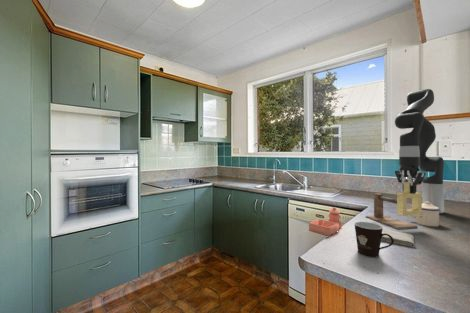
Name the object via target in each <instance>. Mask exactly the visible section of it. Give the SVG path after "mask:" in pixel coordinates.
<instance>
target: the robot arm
mask: <svg viewBox="0 0 470 313" xmlns="http://www.w3.org/2000/svg"><path fill="white" fill-rule="evenodd" d="M434 101H435V94H434V91H433V90H432V89H431V88H426V89H420V90H416V91H411V92H409V93H408V94H407V95H406V103H407V107H406V109H405V110H403V111H401V112H400V113H399V114H398V115H396V117H395V119H394V125H395V127H396V128H398V129H400V130H402V129H403V130H404V129H412V130H411V131H410V132H406V133H402V134H401V135H400V136H399V149H398V150H399V151H398V153H399V154H398V166H400V168H399V170H395V171H394V174H395V176H396V179H397V182H398V183H400V184H402V193H404V182H410V193H411V194H415V193H416V192H417V186H419V185H422V204H423V203H425V202H430V204H432V205H434V206H435V207H438V208H439V209H440V210H439V214H443V213H445V196H444V168H445V163H444V162H445V161H444V158H443V156H427V152H428V149H429V148H430V147H431V146H432V144H433V143H434V142H435V141H436V136H437V134H436V128H435V125H433V123H432V122H430V120H428V119H427V118H426V117H424V116H425V115H424V112H425V111H426V110H427V109H429V108H431V106H432V105H433V104H434ZM427 173H434V174H433V175H431V176H427V177H426V174H427ZM413 182H414V183H413Z"/></svg>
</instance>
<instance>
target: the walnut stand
mask: <svg viewBox="0 0 470 313" xmlns="http://www.w3.org/2000/svg"><path fill="white" fill-rule="evenodd" d="M384 202H387V203H393V204H396V205H397V198H396V199H395V198H390V197H387V196H384V193H376V192H375V193H373V215H372V214H371V215H365V218H367V219H370V220H373V221H374V222H377V223H380V224H382V225H384V226H388V227H390V228H393V229H395V230H405V229H406V230H408V229H418V225H416V224H413V223H409V222H406V221H404V220H400V219H398V218H394V217H392V216H388V215H385V214H384Z"/></svg>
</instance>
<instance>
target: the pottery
mask: <svg viewBox="0 0 470 313" xmlns="http://www.w3.org/2000/svg"><path fill="white" fill-rule="evenodd" d="M328 213H329V214H328V218H329V219H328V220H324V219H320V218H319V219H316V220H312V221H309V222H308V231H309V232H312V233H315V234H318V235H320V236H321V235H322V236H325V237H328V236H329V237H331V236H332V235H331V234H333V235H335V234H336V233H335V232H337V231H339V232H340V229H342V226H343V224H342V222H341V220H340V219H341V215H340V213H341V211H340V210H339V209H337V207H336V206H335V207H334V206H333V207H332V209H329V210H328ZM334 233H335V234H334ZM337 233H338V232H337ZM330 235H331V236H330Z"/></svg>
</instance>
